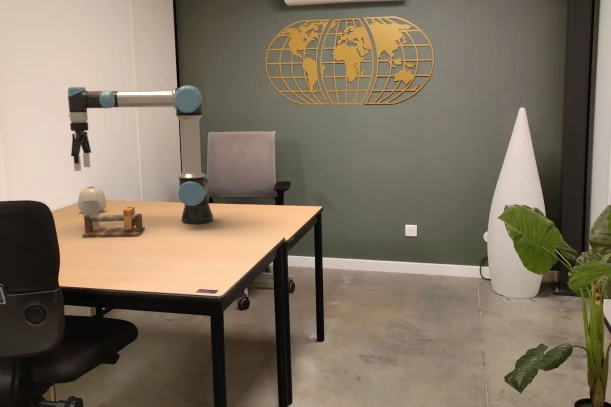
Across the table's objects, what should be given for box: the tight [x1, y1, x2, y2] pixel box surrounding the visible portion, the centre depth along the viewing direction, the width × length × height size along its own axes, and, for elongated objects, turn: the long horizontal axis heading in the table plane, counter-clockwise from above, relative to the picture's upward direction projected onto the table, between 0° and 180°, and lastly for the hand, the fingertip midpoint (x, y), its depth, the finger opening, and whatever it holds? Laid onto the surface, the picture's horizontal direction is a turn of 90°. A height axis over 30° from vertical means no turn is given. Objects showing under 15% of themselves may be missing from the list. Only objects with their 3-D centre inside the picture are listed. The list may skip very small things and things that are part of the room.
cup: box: [81, 200, 100, 228], centre depth 284 cm, size 8×8×12 cm
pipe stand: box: [82, 213, 146, 239], centre depth 270 cm, size 24×14×8 cm, turn 93°
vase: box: [77, 186, 107, 213], centre depth 319 cm, size 14×14×13 cm
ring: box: [122, 206, 136, 229], centre depth 270 cm, size 3×8×8 cm, turn 3°
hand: (82, 169), depth 275 cm, fingers open, 13 cm apart
